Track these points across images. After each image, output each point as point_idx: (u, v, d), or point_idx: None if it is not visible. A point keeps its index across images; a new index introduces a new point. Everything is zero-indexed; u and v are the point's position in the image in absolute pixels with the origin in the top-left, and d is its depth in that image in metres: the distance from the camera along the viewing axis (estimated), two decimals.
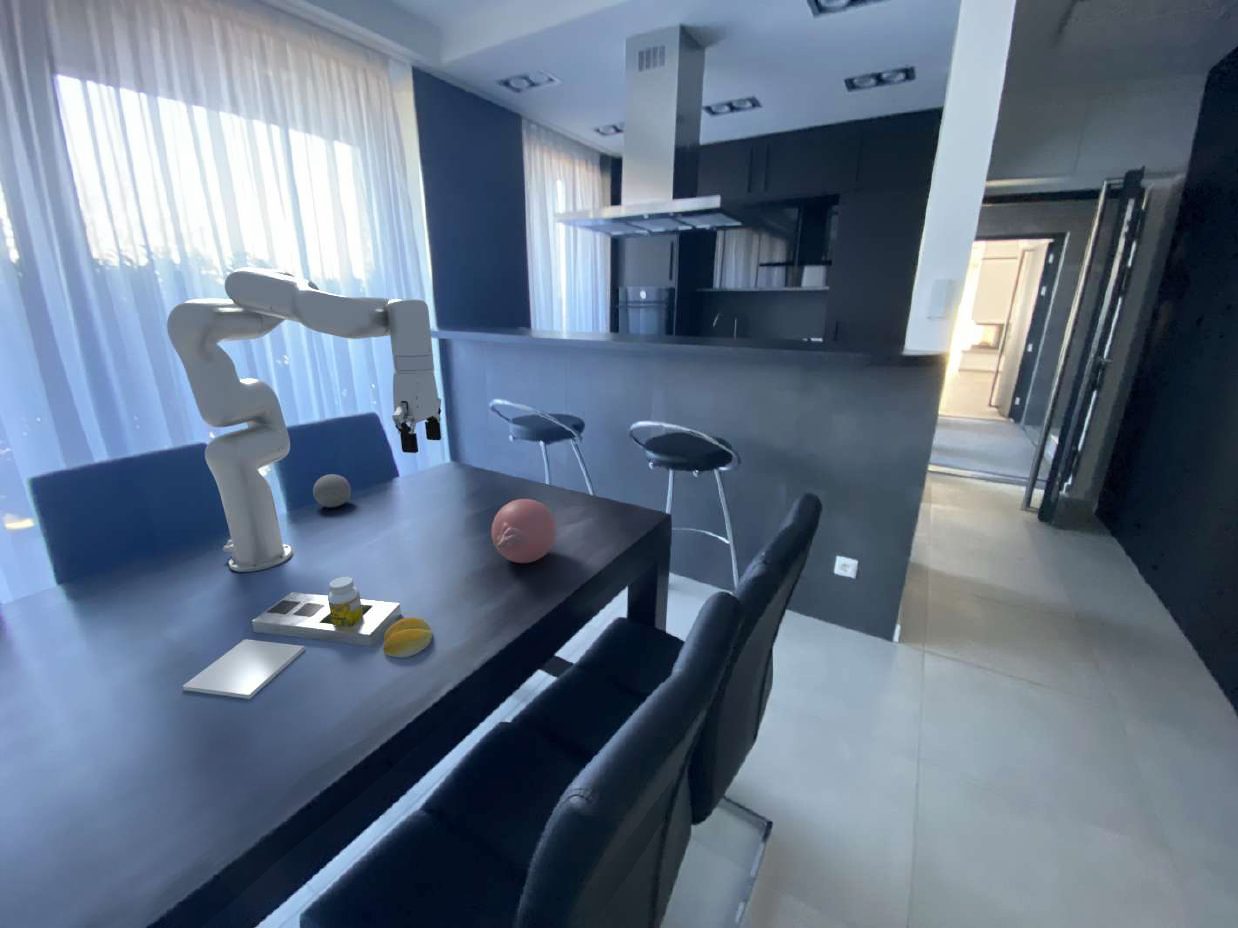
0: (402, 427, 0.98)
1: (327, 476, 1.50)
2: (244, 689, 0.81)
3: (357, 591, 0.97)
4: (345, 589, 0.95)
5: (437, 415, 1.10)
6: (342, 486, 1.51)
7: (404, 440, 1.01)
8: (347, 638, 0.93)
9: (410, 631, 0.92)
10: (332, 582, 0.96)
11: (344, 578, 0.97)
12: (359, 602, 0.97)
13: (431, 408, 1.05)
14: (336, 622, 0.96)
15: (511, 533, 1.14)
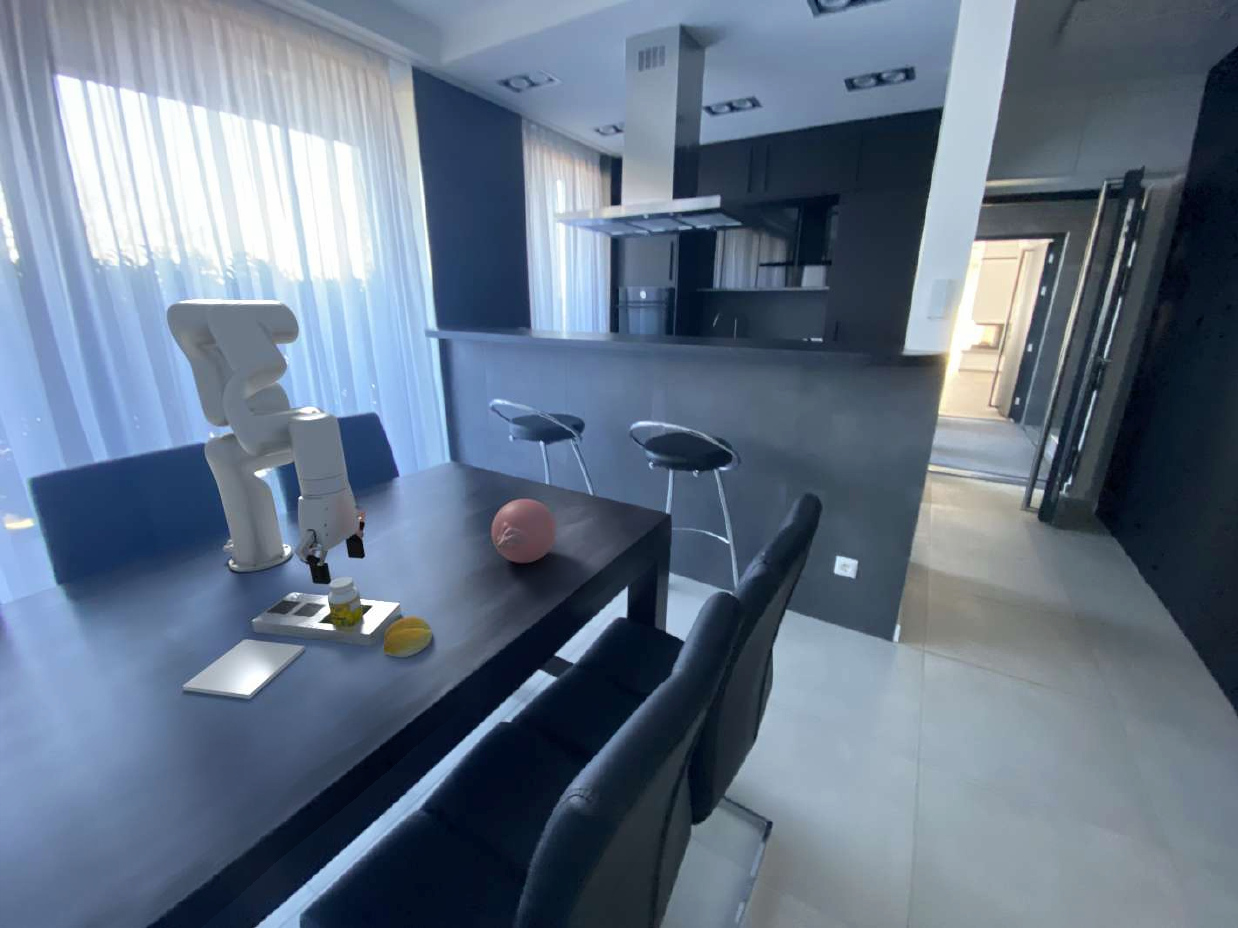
0: (308, 560, 0.86)
1: None
2: (244, 689, 0.81)
3: (357, 591, 0.97)
4: (345, 589, 0.95)
5: (359, 532, 0.97)
6: None
7: (313, 572, 0.88)
8: (347, 638, 0.93)
9: (410, 631, 0.92)
10: (332, 582, 0.95)
11: (344, 578, 0.97)
12: (359, 602, 0.97)
13: (348, 529, 0.93)
14: (336, 622, 0.96)
15: (511, 533, 1.14)
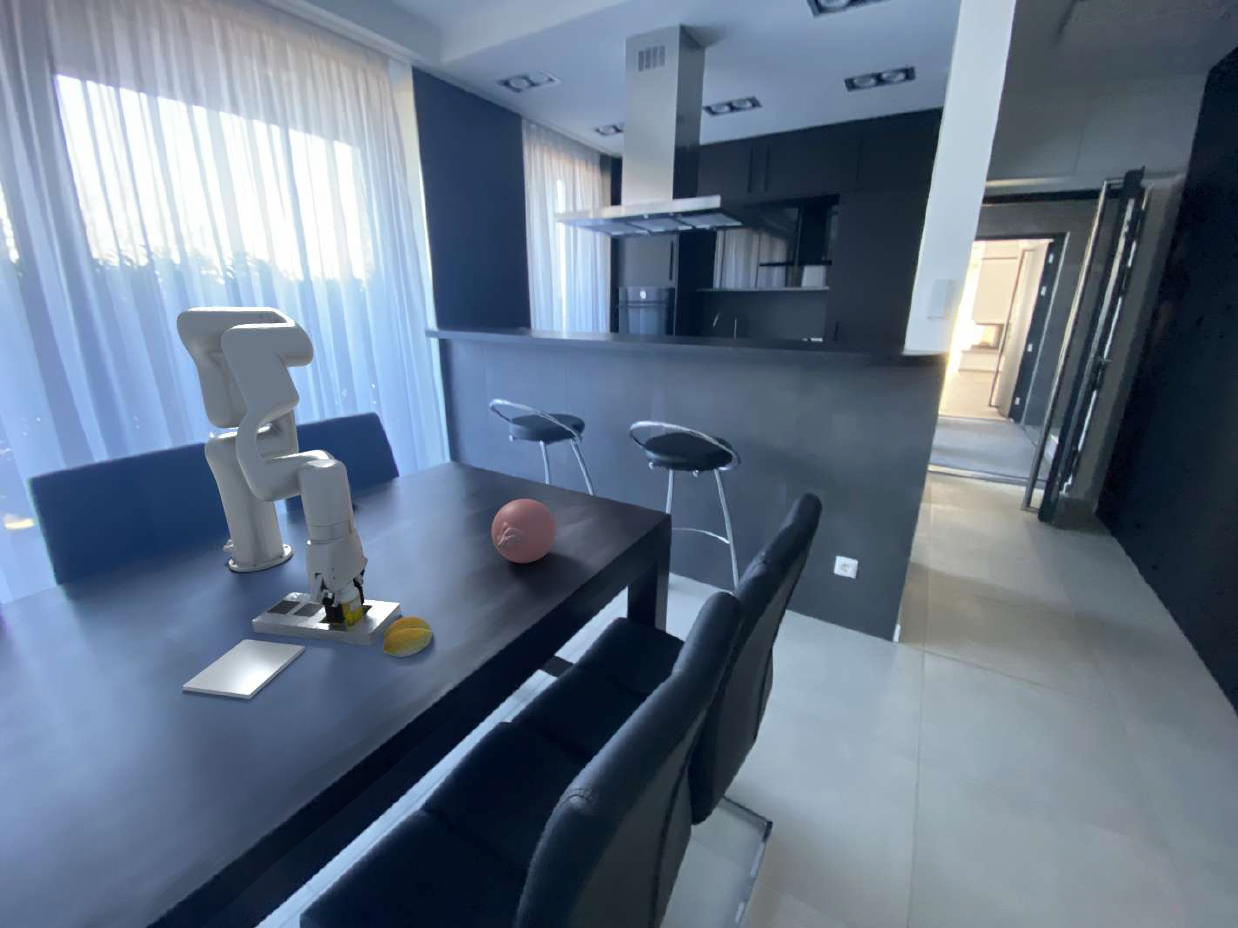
0: (324, 603, 0.91)
1: None
2: (244, 689, 0.81)
3: (357, 591, 0.97)
4: (345, 589, 0.95)
5: (359, 579, 0.99)
6: None
7: (328, 612, 0.93)
8: (347, 638, 0.93)
9: (410, 631, 0.92)
10: None
11: None
12: (359, 602, 0.97)
13: (354, 570, 0.96)
14: None
15: (511, 533, 1.14)
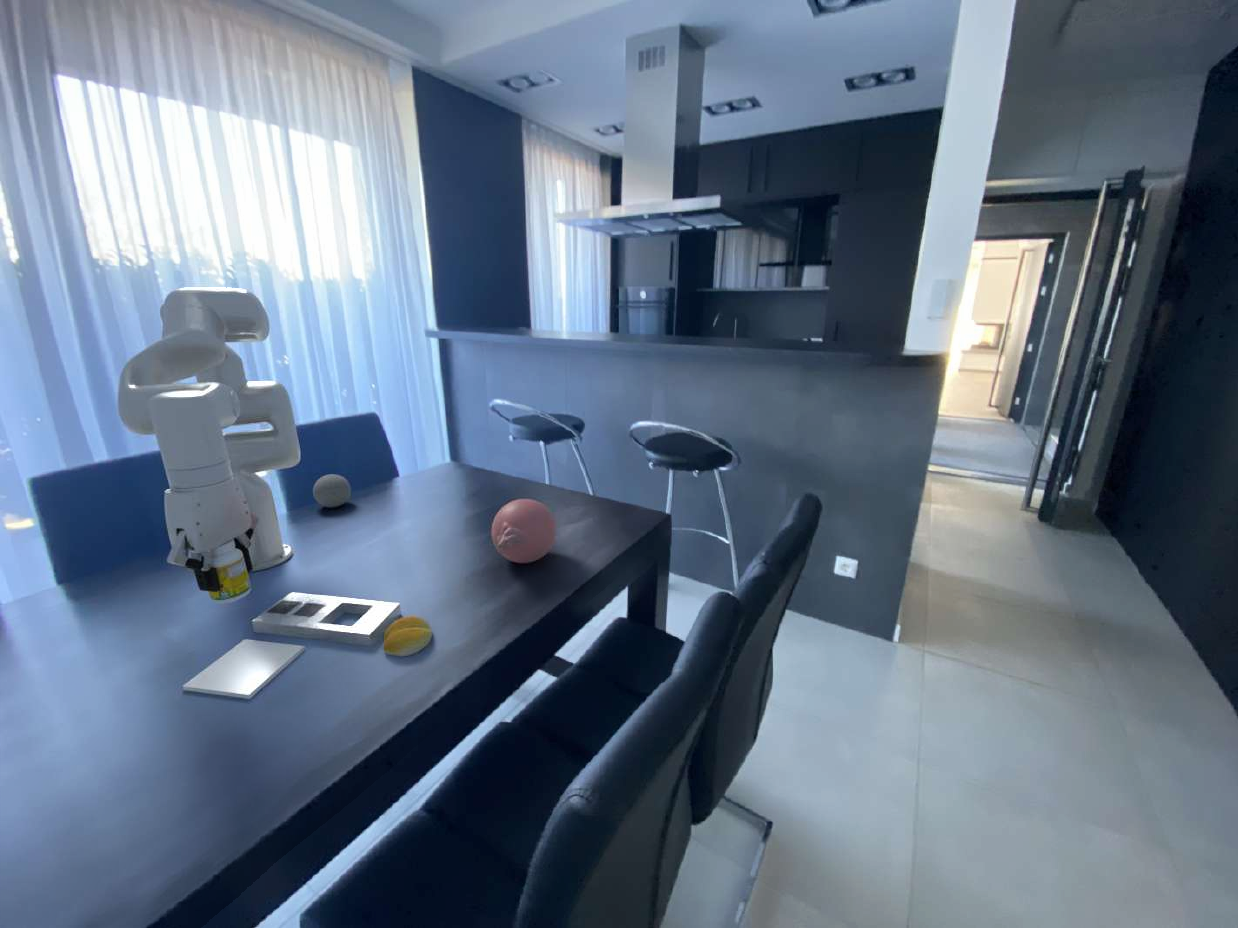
0: (189, 566, 0.75)
1: (327, 476, 1.50)
2: (244, 689, 0.81)
3: (239, 554, 0.81)
4: (222, 551, 0.79)
5: (243, 541, 0.83)
6: (342, 486, 1.51)
7: (198, 577, 0.77)
8: (347, 638, 0.93)
9: (410, 630, 0.92)
10: None
11: None
12: (242, 567, 0.81)
13: (233, 528, 0.80)
14: None
15: (511, 533, 1.14)
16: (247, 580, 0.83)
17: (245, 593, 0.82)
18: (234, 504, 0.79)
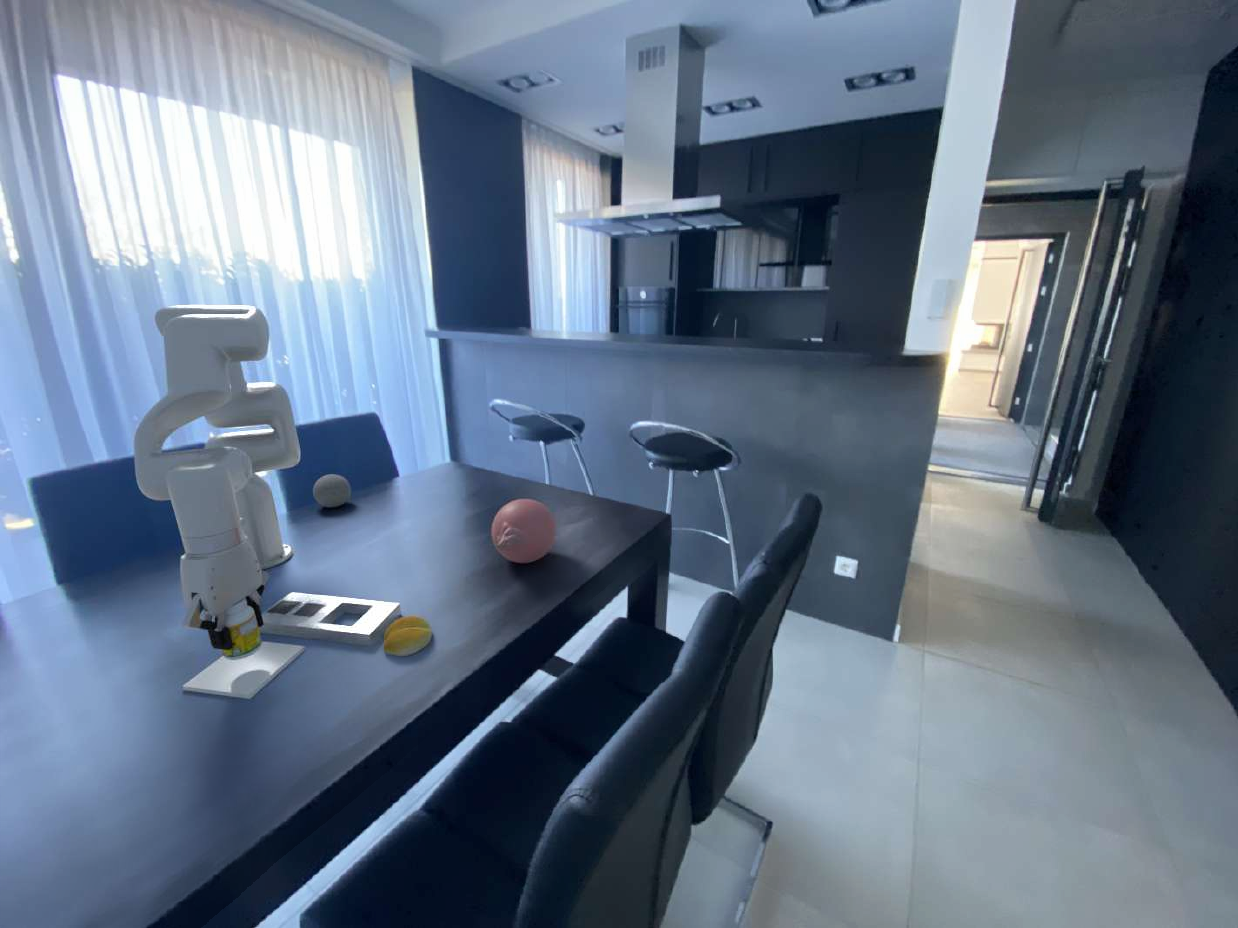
0: (203, 628, 0.78)
1: (327, 476, 1.50)
2: (244, 689, 0.81)
3: (251, 612, 0.84)
4: (234, 610, 0.82)
5: (255, 598, 0.86)
6: (342, 486, 1.51)
7: (211, 637, 0.80)
8: (347, 638, 0.93)
9: (410, 630, 0.92)
10: None
11: None
12: (254, 624, 0.84)
13: (245, 587, 0.83)
14: None
15: (511, 533, 1.14)
16: (258, 636, 0.85)
17: (256, 649, 0.85)
18: (246, 565, 0.82)
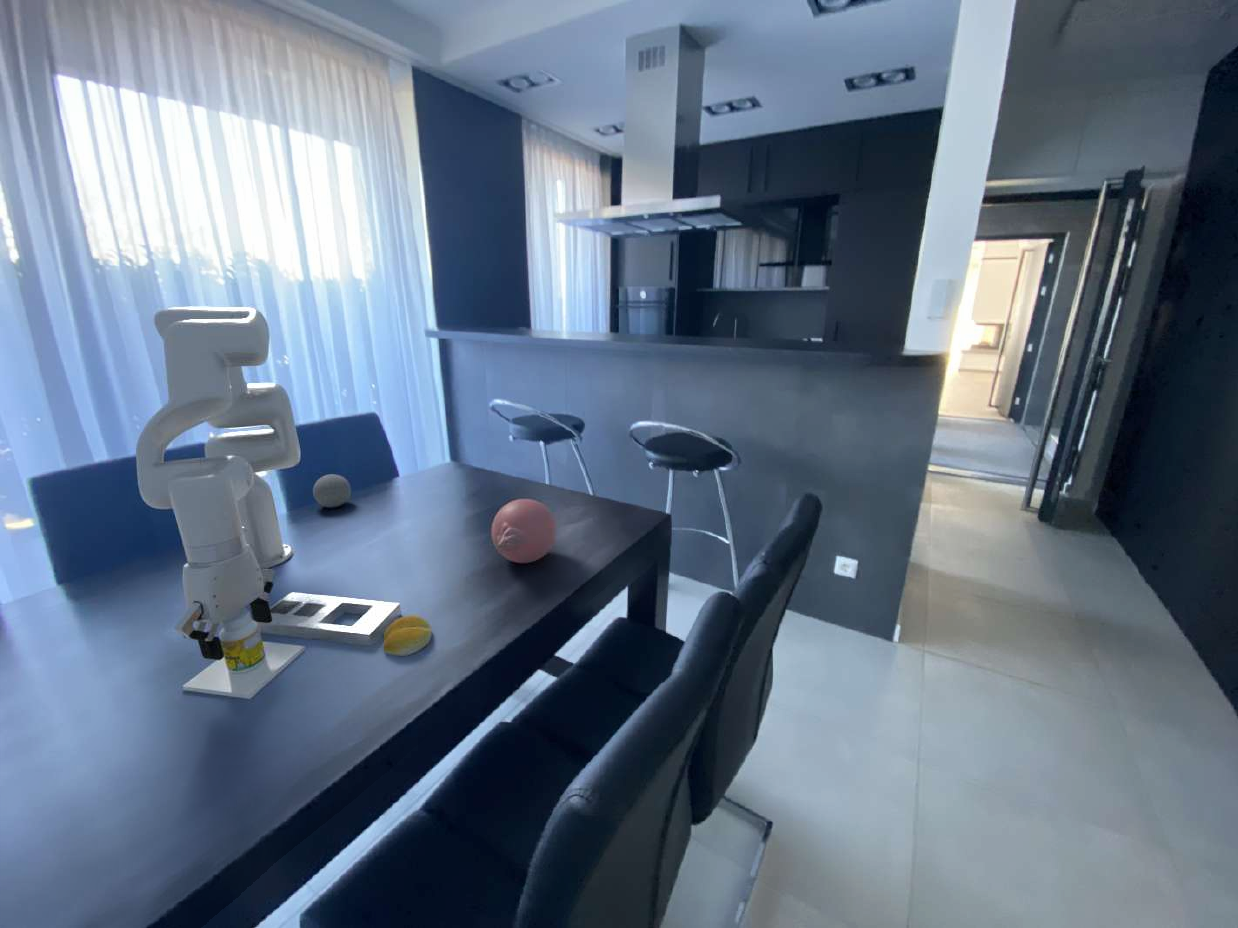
0: (192, 637, 0.76)
1: (327, 476, 1.50)
2: (244, 689, 0.81)
3: (255, 626, 0.85)
4: (238, 625, 0.83)
5: (264, 594, 0.88)
6: (342, 486, 1.51)
7: (202, 647, 0.79)
8: (347, 638, 0.93)
9: (410, 630, 0.92)
10: None
11: (240, 611, 0.85)
12: (257, 638, 0.85)
13: (247, 595, 0.83)
14: (228, 662, 0.84)
15: (511, 533, 1.14)
16: (262, 650, 0.87)
17: (260, 662, 0.86)
18: (248, 573, 0.83)
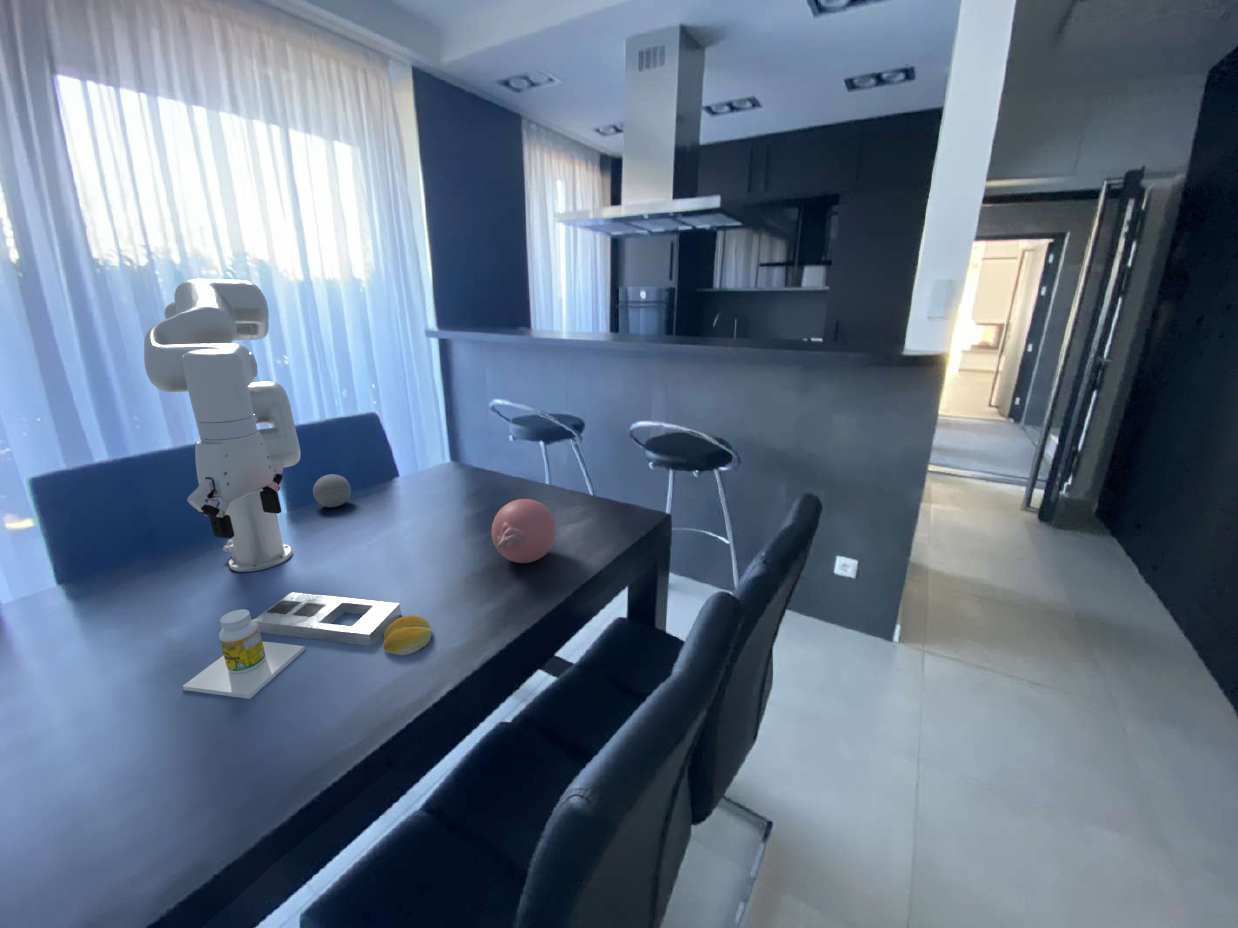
0: (204, 511, 0.78)
1: (327, 476, 1.50)
2: (244, 689, 0.81)
3: (255, 626, 0.85)
4: (238, 625, 0.83)
5: (273, 484, 0.90)
6: (342, 486, 1.51)
7: (213, 524, 0.81)
8: (347, 638, 0.93)
9: (410, 629, 0.92)
10: (224, 616, 0.83)
11: (240, 611, 0.85)
12: (257, 639, 0.85)
13: (257, 480, 0.85)
14: (228, 662, 0.84)
15: (511, 533, 1.14)
16: (262, 650, 0.87)
17: (260, 663, 0.86)
18: (258, 458, 0.85)
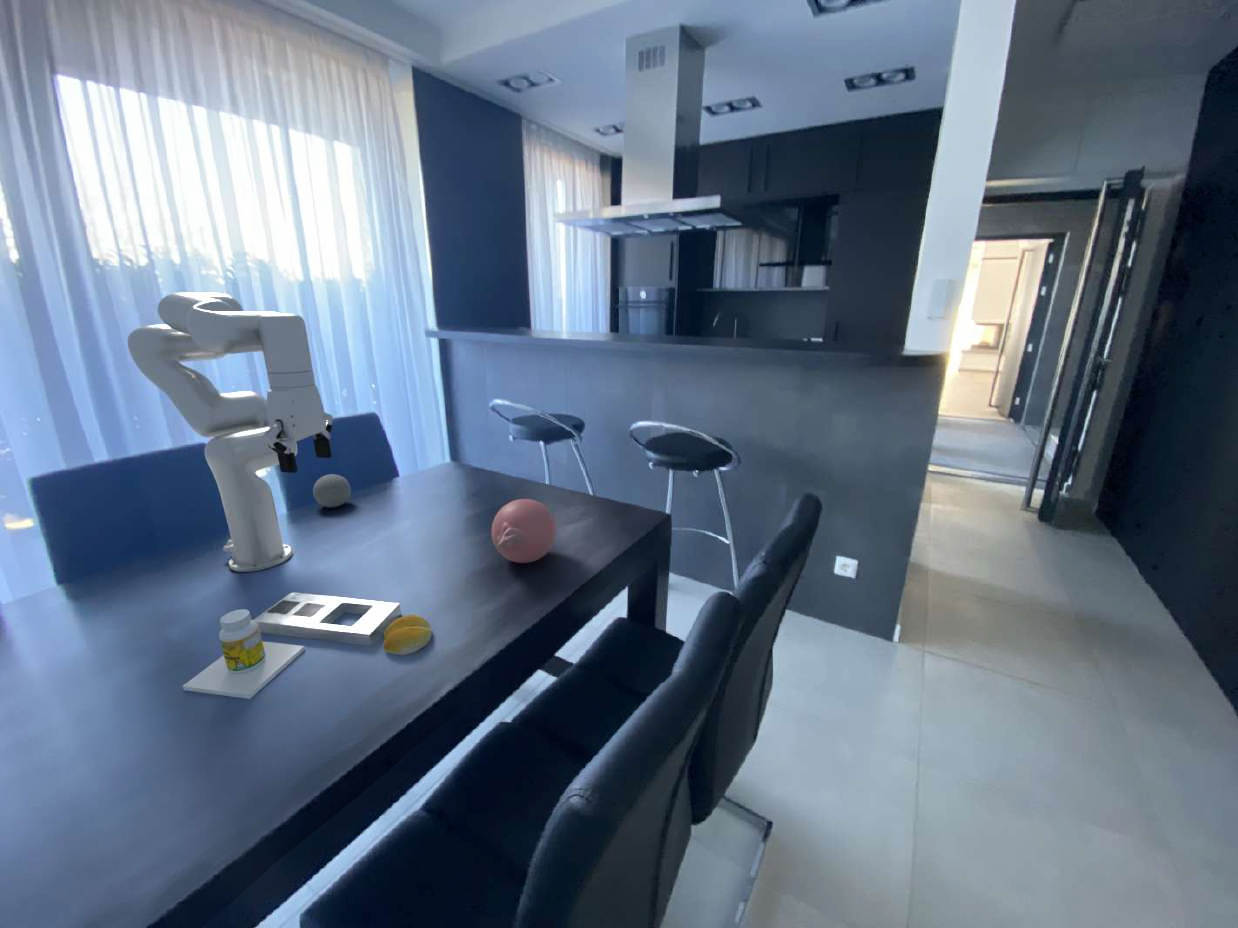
0: (275, 447, 0.94)
1: (327, 476, 1.50)
2: (244, 689, 0.81)
3: (255, 626, 0.85)
4: (238, 625, 0.83)
5: (325, 432, 1.06)
6: (342, 486, 1.51)
7: (281, 460, 0.97)
8: (347, 638, 0.93)
9: (410, 629, 0.92)
10: (224, 616, 0.83)
11: (240, 611, 0.85)
12: (257, 639, 0.85)
13: (314, 426, 1.01)
14: (228, 662, 0.84)
15: (511, 533, 1.14)
16: (262, 650, 0.87)
17: (260, 663, 0.86)
18: (315, 407, 1.01)
